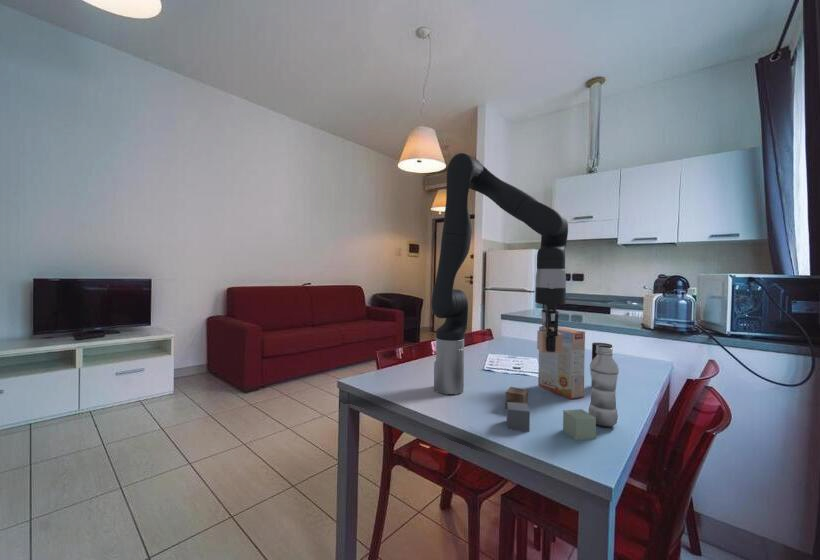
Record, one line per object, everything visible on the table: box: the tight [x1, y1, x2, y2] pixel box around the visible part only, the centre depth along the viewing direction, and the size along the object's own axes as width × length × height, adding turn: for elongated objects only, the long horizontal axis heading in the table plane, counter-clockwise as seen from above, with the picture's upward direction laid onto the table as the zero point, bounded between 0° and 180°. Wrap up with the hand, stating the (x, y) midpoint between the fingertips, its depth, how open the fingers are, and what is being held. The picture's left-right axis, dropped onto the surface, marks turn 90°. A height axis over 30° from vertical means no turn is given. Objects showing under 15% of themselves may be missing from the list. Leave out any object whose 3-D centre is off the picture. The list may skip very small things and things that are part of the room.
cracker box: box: [537, 325, 586, 400], centre depth 108 cm, size 14×6×21 cm, turn 22°
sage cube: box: [562, 408, 597, 441], centre depth 79 cm, size 5×5×5 cm
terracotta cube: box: [536, 330, 562, 354], centre depth 88 cm, size 5×5×5 cm
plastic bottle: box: [588, 345, 620, 428], centre depth 84 cm, size 6×7×20 cm
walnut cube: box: [505, 386, 529, 410], centre depth 94 cm, size 5×5×5 cm
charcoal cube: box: [506, 402, 531, 432], centre depth 83 cm, size 5×5×5 cm
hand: (549, 348), depth 88 cm, fingers closed on terracotta cube, 5 cm apart
